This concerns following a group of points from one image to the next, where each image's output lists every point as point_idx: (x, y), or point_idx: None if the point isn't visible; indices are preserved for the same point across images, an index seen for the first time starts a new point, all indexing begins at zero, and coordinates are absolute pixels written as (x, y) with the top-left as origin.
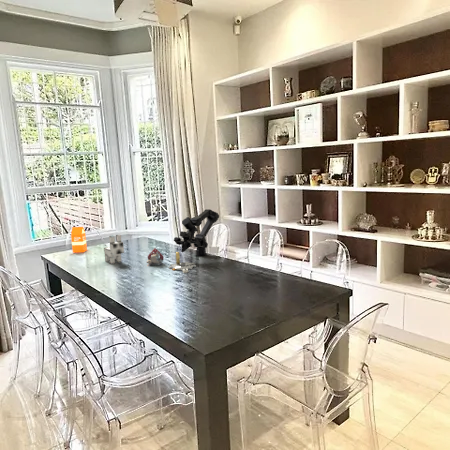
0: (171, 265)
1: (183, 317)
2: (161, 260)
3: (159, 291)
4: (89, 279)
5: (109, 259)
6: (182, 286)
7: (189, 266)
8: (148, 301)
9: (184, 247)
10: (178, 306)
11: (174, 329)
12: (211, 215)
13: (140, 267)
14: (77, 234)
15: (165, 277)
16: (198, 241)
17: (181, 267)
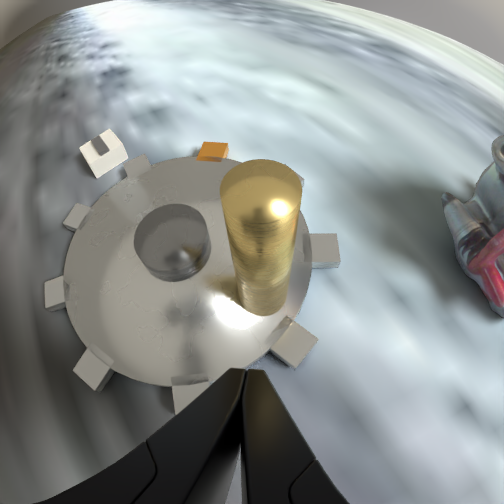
0: (303, 217)
1: (73, 19)
2: (461, 224)
3: (154, 22)
4: (462, 48)
5: None
6: (89, 58)
7: (92, 243)
8: (157, 5)
9: (163, 439)
10: (85, 23)
11: (83, 8)
12: None
13: None
14: None
15: (198, 70)
16: None
17: (158, 194)
